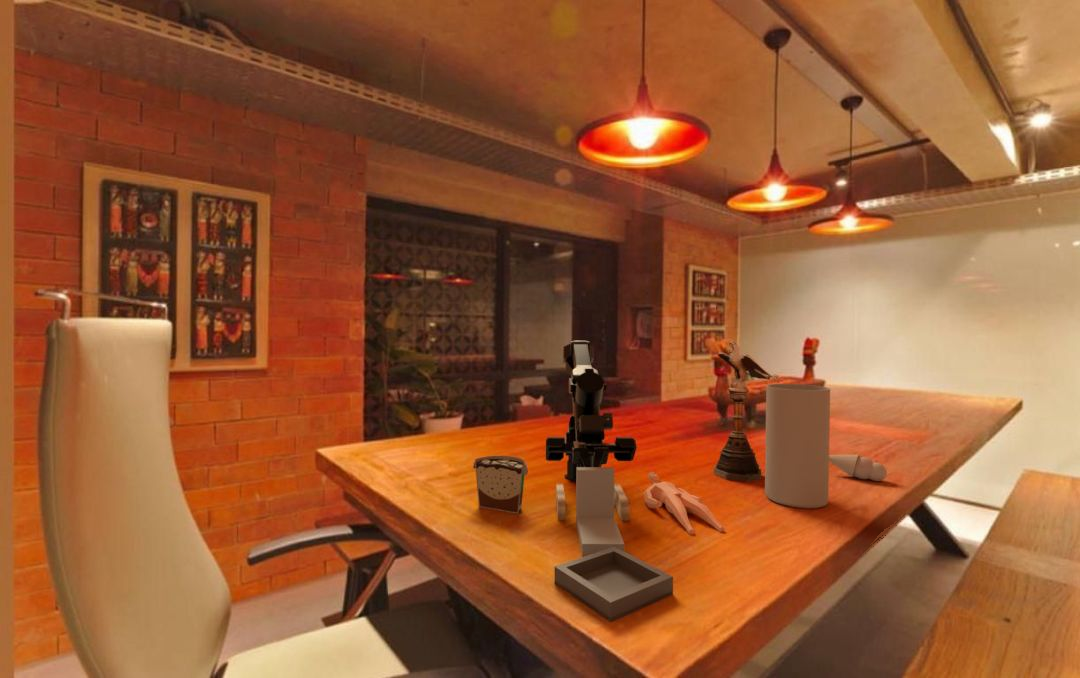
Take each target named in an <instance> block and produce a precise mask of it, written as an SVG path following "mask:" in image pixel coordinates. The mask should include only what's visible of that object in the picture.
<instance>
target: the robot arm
mask: <svg viewBox="0 0 1080 678" xmlns="http://www.w3.org/2000/svg"><path fill="white" fill-rule="evenodd" d="M594 354H595V353H594V346H593V345H592V344H591V343H590V341H588V340H573V341H572V340H571V341H570V343H569V344H566V345H564V346H563V349H562V363H563V364H564V365H565V366H564V368H565V372H566V373H567V374H568V375H569V376H570V377H569V378H568V393H569V394H571V398H572V400H571V401H572V415H571V416H570V418H569V421H568V425H567V428H568V429H567V430H565V436H547V438H546V439H545V460H546V461H548V462H561V461H562V460H563V459H564V457H565V456H566V457H568V460H567V461H566V474H564V478H566V479H569V480H572V481H574V482H576V467H602V466H603V465H606V464H607V463H608V459H609V454H613V457H614V459H615V460H616V461H618V462H631V461H633V460H634V459H635V454H636V451H637V443H636V442H637V441H636V439H635V438H633V437H632V436H616V437H615V442H612V443H611V442H608V443H607V442H606V443H605V442H604V440H605V430H606V431H607V430H609V431H611V430H612V429H613V427H614V419H613V413H612V412H603V414H602V415H601V411H600V410H601V408H600V406H601V403H602V399H603V393H604V392H605V391H606V390H607V384H606V383H605V380H604V379H603V376H601V375H600V374H599V372H598V369H595V368H594V367H592V364H593V362H594V360H595V356H594ZM564 455H565V456H564Z"/></svg>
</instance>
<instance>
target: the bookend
mask: <svg viewBox="0 0 1080 678" xmlns="http://www.w3.org/2000/svg"><path fill="white" fill-rule="evenodd" d="M575 482H576V484H575V485H576V487H575V488H576V490H575V492H576V495H575V496H576V497H575V500H576V501H575V502H576V504H575V507H576V509H575V516H576V517H575V526H576V531H577V536H578V540H579V541H578V542H579V545H580V551H581V557H584V556H587V555H590V554H593V553H596V552H599V551H602V550H605V549H608V548H611V547H616V548H618V549H620V550H622V551H624V552H625V542H624V540H623V537H622V535H621V532H620V529H619V527H618V524H617V522H616V520H615V519H616V518H615V504H614V484H615V469H614V467H612V466H611V467H608V466H607V467H606V466H605V467H604V466H603V467H602V466H601V467H576V481H575Z"/></svg>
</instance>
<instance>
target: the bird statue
mask: <svg viewBox="0 0 1080 678" xmlns="http://www.w3.org/2000/svg"><path fill="white" fill-rule="evenodd" d="M728 346H730V347H729V348H728V351H726V353H724V352H719V353H718V354H717V356H718V357H719V358H720V359H722V361H724V362H725V363H726V364H728V366H730V367H731V368H732V369H733V370H734V376H735V378H734V379H733V380H732V381H730V387H728V389H727V391H728V392H729V394H728V398H729V399H730V400H733V402H732V403H733V415H732V416H731V418H732V419H733V430H731V432H730V433H729V434H728V438H727V440H726V442H725V445H724V446H723V447H722V449H721V451H720V452H719V454H720V455H719V458H718V461H717V463H716V464H715V465H714V466H713V475H715V476H717V477H720V478H722V479H725V480H728V481H736V482H742V483H743V482H744V483H745V482H746V483H747V482H754V481H761V478H762V469H761V468H760V465H759V464H758V461H757V458H756V452H754V449H752V447H751V444H750V443H749V440H748V435H747V434H746V433H745V432H744V431H743V428H744V427H743V423H744V422H743V421H744V418H745V416H744V410H743V409H744V405H743V404H744V401H746V400H748V393H749V392H750V390H749V388H747V384H746V378H747V375H749V377H750V378H751V379H752V378H755V379H759V380H761V379H762V380H770V379H771V378H772V379H773V380H774V381H775V382H777V384H780V381H779V380H778V378H779V375H778V374H775V373H769V372H768V371H767V370H765V369H764V368H763V367H762V366H761V364H759V363H758V362H757V361H756V360H755V359H754V358H753V357H751V356H750V355H749V354H742V356H741V355H740V347H739V345H738V343H736V342H734V341H729V342H728ZM731 348H732V351H731Z"/></svg>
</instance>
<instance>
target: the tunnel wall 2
mask: <svg viewBox="0 0 1080 678" xmlns="http://www.w3.org/2000/svg"><path fill="white" fill-rule="evenodd" d="M614 507H615V509H616V511H617V513H618V516H619V518H620V520H621V521H622V522H623V521H625V522H626V521H628V522H629V521H630V501H629V500H628V497H627V496H626V493H625V491H624V489H623V488H622V486H621V484H620V483H614Z"/></svg>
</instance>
